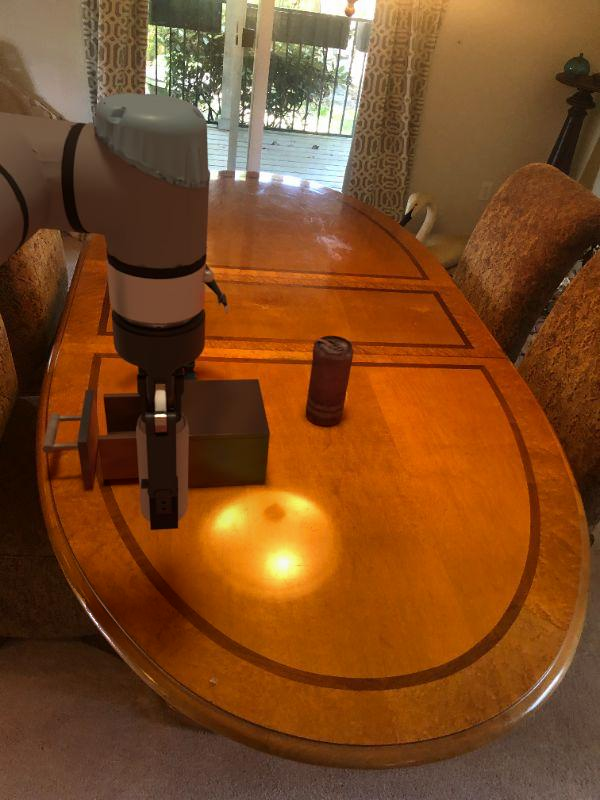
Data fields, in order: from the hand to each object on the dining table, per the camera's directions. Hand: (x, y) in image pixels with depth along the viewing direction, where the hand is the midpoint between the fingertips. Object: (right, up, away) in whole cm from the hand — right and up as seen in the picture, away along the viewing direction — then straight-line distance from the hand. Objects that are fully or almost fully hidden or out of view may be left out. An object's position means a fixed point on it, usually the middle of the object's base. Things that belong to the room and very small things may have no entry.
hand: (164, 505), depth 64 cm
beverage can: (0, -1, +1) cm, 1 cm away
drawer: (-12, +3, +25) cm, 28 cm away
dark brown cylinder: (+18, +8, +39) cm, 43 cm away
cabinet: (+1, +3, +28) cm, 28 cm away
